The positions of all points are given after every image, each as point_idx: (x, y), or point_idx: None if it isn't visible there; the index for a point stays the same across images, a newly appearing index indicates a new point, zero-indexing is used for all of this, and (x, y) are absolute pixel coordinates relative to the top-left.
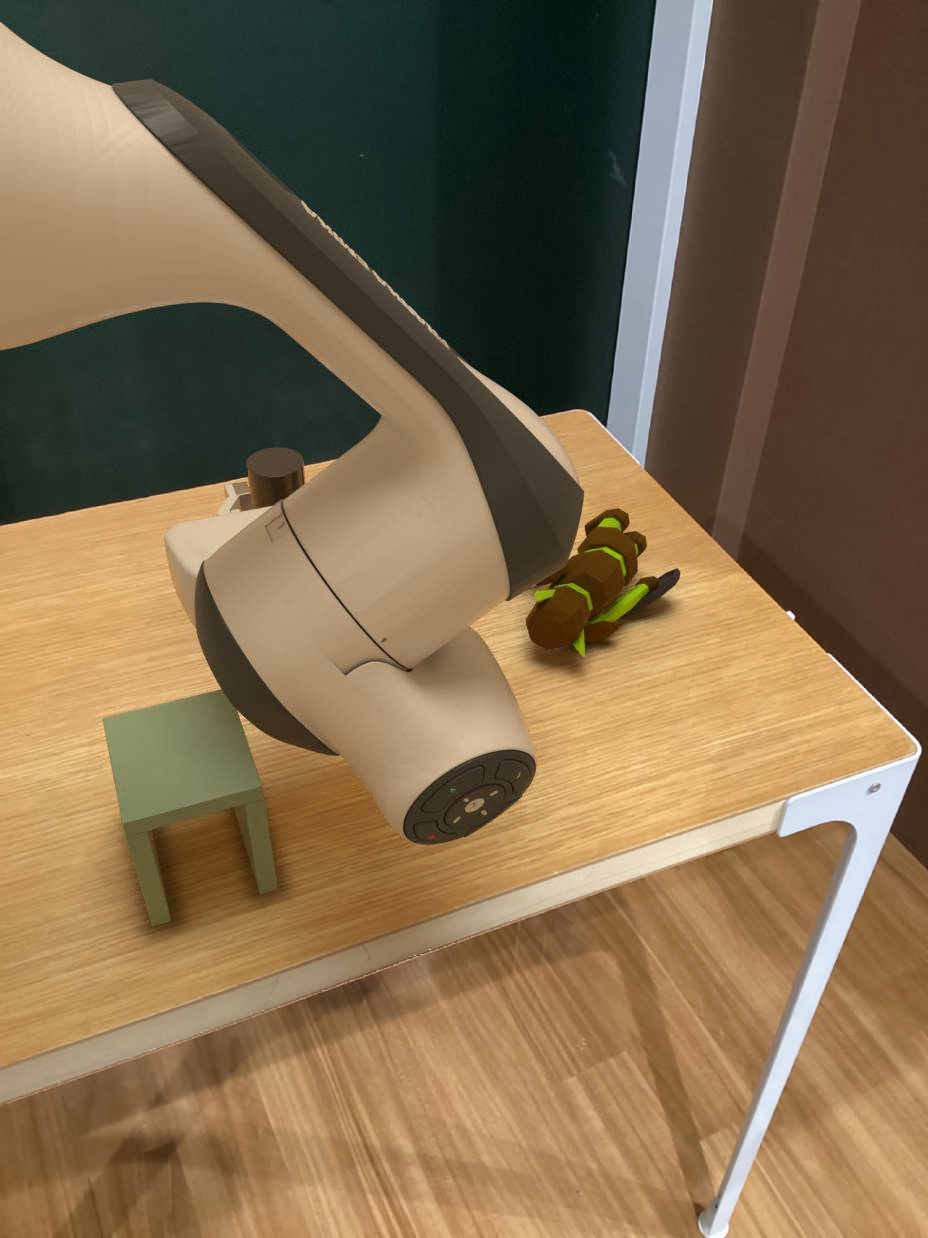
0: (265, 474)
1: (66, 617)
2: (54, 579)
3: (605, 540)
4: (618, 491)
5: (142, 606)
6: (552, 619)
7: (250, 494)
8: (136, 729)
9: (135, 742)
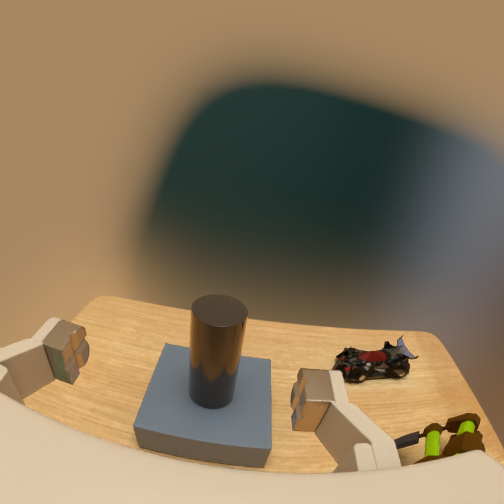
0: (201, 318)
1: None
2: (92, 326)
3: (473, 448)
4: (453, 385)
5: (117, 368)
6: None
7: (61, 352)
8: None
9: None
